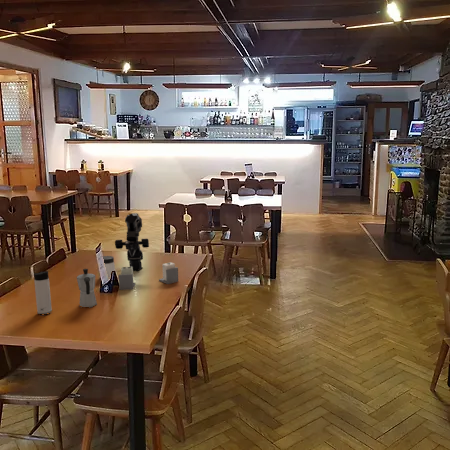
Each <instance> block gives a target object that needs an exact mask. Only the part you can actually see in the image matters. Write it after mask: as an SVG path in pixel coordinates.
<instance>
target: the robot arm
mask: <svg viewBox="0 0 450 450" xmlns="http://www.w3.org/2000/svg"><path fill="white" fill-rule="evenodd" d="M139 215H140V214H139V213H137V212H135V213H132V212H131V213H129V214H127V215H126V216H125V219H124V222H125V223H126V227H127V229H126V240H125V241H123V239H116V240H115V241H114V245H115V249H116V250H118V249H121V250H122V249H123V248H124V246H125V249H126V255H127V256H126V258H127V261H128V263H129V267H133V272H134V271H135V272H139V271H140V270H142V269H143V267H142V265H143V263H142V260H144V254H143V251H142V250H141V247H142V248H143V249H144V248H146V249H147V248H149V247H150V243H149V239H148V238H140V239H141V240H139V237H140V232H141V231H142V228H143V218H141V217H140V216H139ZM140 246H141V247H140Z"/></svg>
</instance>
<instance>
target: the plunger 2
mask: <svg viewBox="0 0 450 450" xmlns="http://www.w3.org/2000/svg"><path fill="white" fill-rule="evenodd" d="M175 267H176V263H174V262H172V261H171V262H167V263H162V278H163V280H166V281H167V279H166V270H167V269H171V268H175Z"/></svg>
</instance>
